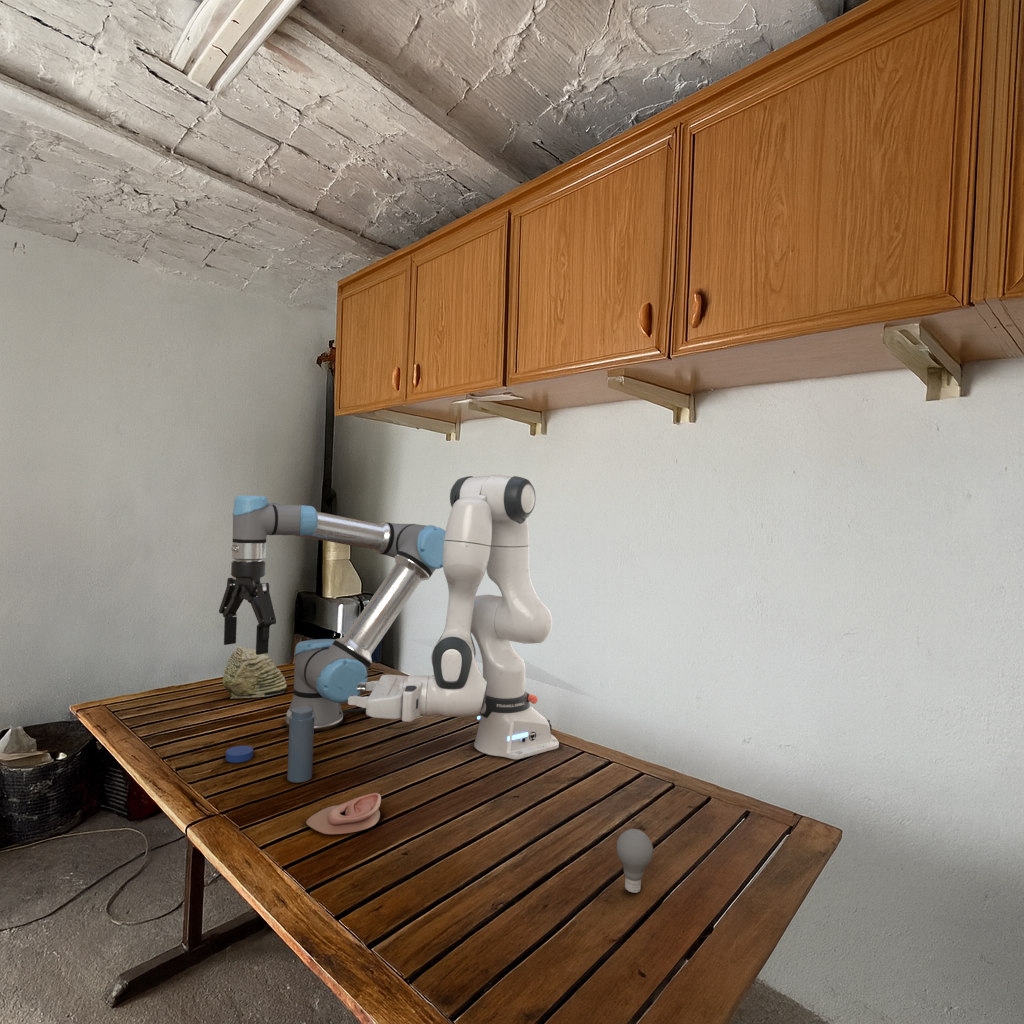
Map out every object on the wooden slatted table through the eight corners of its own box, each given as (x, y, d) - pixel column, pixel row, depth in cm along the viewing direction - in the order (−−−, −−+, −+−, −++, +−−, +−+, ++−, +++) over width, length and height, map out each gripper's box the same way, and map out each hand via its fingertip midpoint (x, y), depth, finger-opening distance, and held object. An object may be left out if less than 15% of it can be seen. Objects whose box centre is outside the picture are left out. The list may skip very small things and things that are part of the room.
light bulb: (610, 879, 108) (613, 822, 108) (644, 879, 109) (647, 822, 109) (619, 902, 102) (622, 840, 102) (655, 901, 103) (658, 840, 103)
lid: (258, 754, 154) (258, 747, 154) (243, 764, 148) (243, 756, 148) (235, 751, 155) (236, 744, 155) (220, 761, 149) (220, 753, 149)
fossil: (218, 695, 195) (220, 647, 195) (278, 685, 208) (279, 640, 207) (228, 703, 189) (230, 653, 188) (289, 692, 201) (290, 645, 201)
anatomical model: (298, 809, 120) (327, 783, 131) (297, 830, 120) (327, 802, 131) (363, 819, 117) (388, 791, 128) (362, 840, 117) (387, 811, 128)
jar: (294, 784, 139) (297, 715, 138) (282, 776, 142) (285, 709, 142) (316, 777, 143) (319, 709, 142) (304, 770, 146) (307, 703, 146)
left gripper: (205, 556, 155) (202, 642, 156) (264, 566, 141) (261, 661, 141) (234, 554, 161) (231, 637, 162) (294, 564, 147) (290, 655, 147)
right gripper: (420, 669, 153) (363, 667, 153) (410, 695, 133) (343, 692, 132) (419, 695, 153) (362, 693, 153) (408, 724, 133) (342, 722, 133)
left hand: (245, 648), depth 151 cm, fingers open, 13 cm apart
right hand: (353, 693), depth 143 cm, fingers open, 8 cm apart
